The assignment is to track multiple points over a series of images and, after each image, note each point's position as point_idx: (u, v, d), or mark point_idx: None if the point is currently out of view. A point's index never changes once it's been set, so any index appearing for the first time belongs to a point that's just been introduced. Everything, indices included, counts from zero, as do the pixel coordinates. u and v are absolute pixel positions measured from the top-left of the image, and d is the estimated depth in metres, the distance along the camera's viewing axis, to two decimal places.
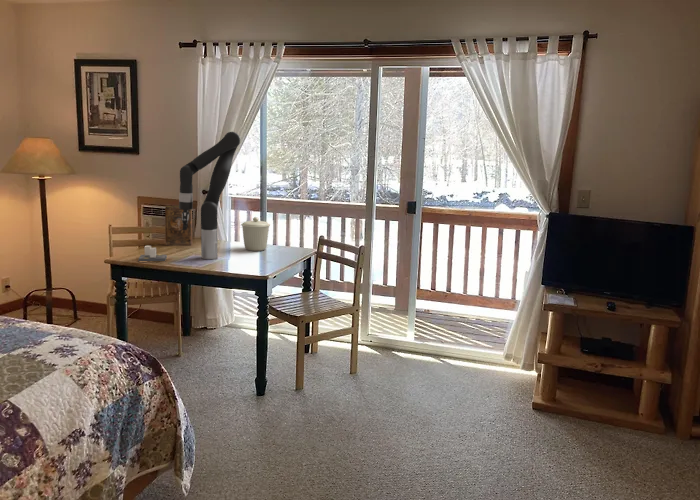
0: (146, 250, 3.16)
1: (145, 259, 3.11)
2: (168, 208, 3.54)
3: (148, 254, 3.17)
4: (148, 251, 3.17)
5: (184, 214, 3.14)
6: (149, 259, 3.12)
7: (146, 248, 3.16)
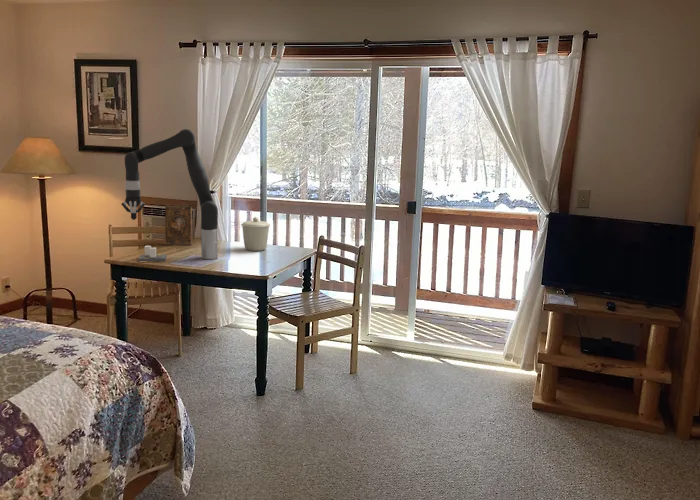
0: (146, 250, 3.16)
1: (145, 259, 3.11)
2: (168, 208, 3.54)
3: (148, 254, 3.17)
4: (148, 251, 3.17)
5: None
6: (149, 259, 3.12)
7: (146, 248, 3.16)
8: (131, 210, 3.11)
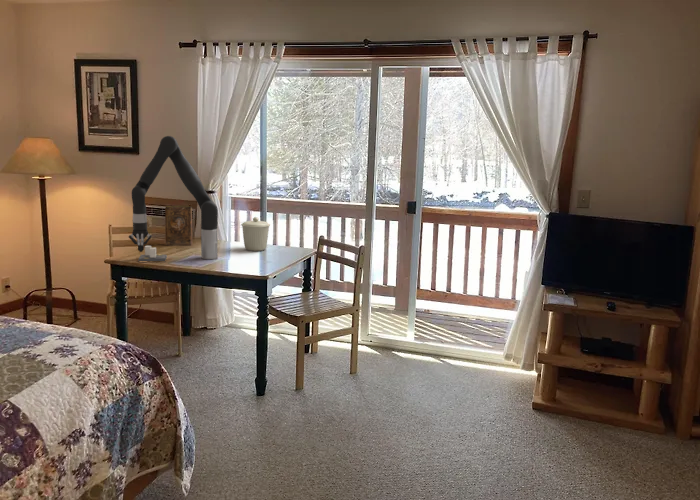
0: (146, 250, 3.16)
1: (145, 259, 3.11)
2: (168, 208, 3.54)
3: (148, 254, 3.17)
4: (148, 251, 3.17)
5: (150, 237, 3.17)
6: (149, 259, 3.12)
7: (146, 248, 3.16)
8: (138, 242, 3.15)
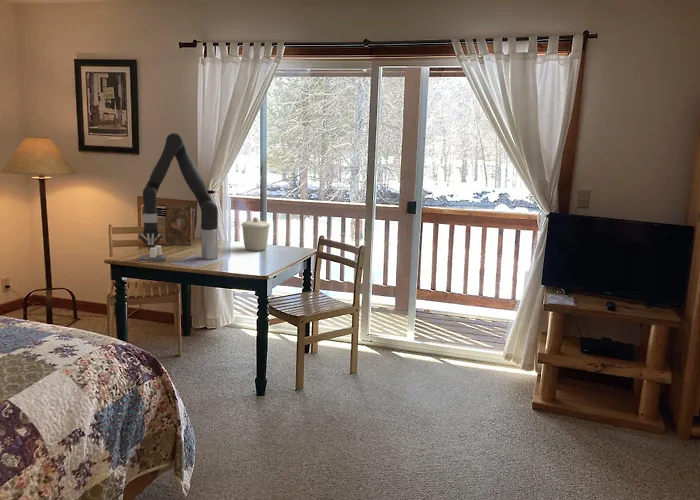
0: (157, 250, 3.17)
1: (145, 259, 3.11)
2: (168, 208, 3.54)
3: (159, 254, 3.18)
4: (159, 251, 3.18)
5: (161, 237, 3.18)
6: (149, 259, 3.12)
7: (157, 248, 3.17)
8: (149, 242, 3.16)
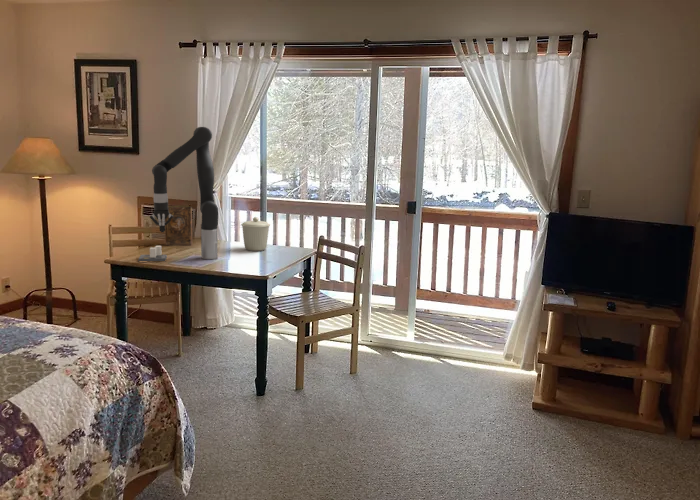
0: (157, 250, 3.17)
1: (145, 259, 3.11)
2: (168, 208, 3.54)
3: (159, 254, 3.18)
4: (159, 251, 3.18)
5: None
6: (149, 259, 3.12)
7: (157, 248, 3.17)
8: (160, 223, 3.12)
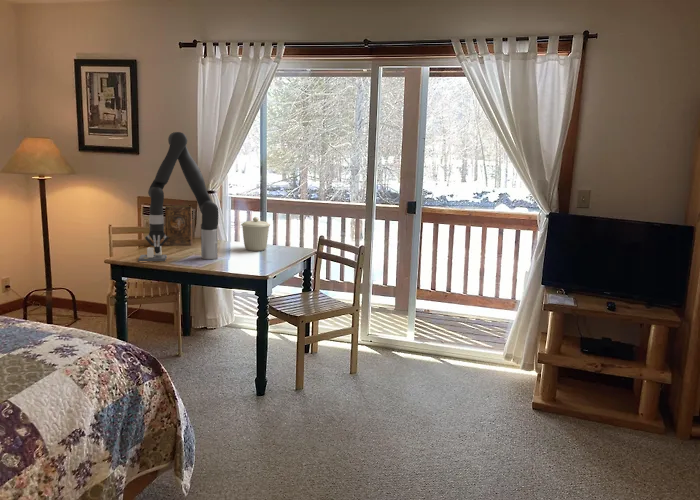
0: None
1: (145, 259, 3.11)
2: (168, 208, 3.54)
3: (159, 254, 3.18)
4: None
5: None
6: (149, 259, 3.12)
7: None
8: (155, 244, 3.12)
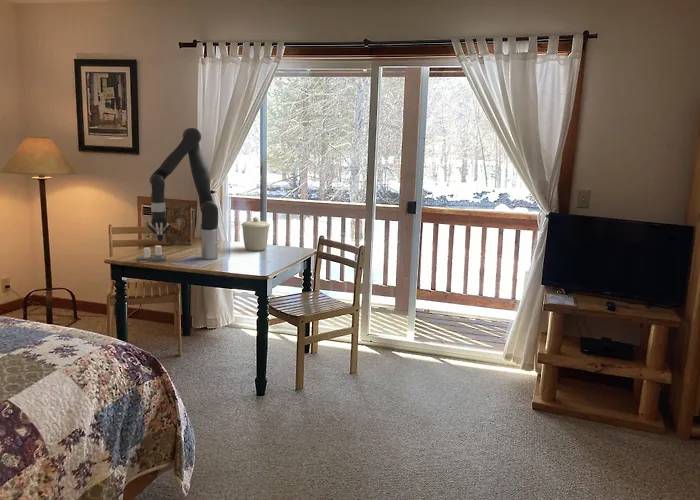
0: (157, 250, 3.17)
1: (145, 259, 3.11)
2: (168, 208, 3.54)
3: (159, 254, 3.18)
4: (159, 251, 3.18)
5: (170, 226, 3.14)
6: (149, 259, 3.12)
7: (157, 248, 3.17)
8: (157, 232, 3.12)
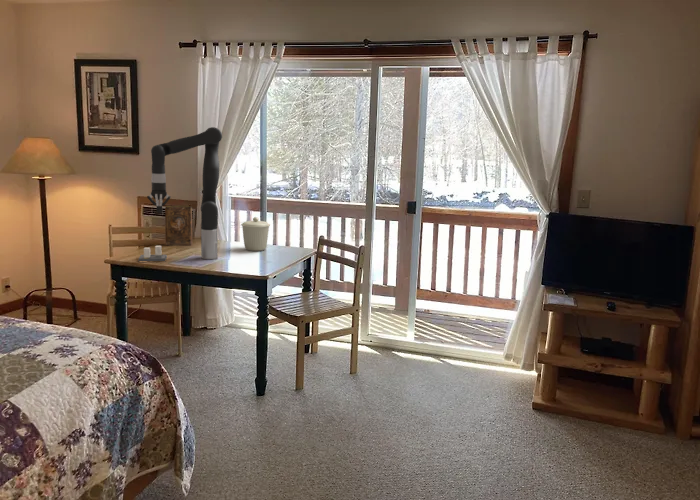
0: (157, 250, 3.17)
1: (145, 259, 3.11)
2: (168, 208, 3.54)
3: (159, 254, 3.18)
4: (159, 251, 3.18)
5: (169, 198, 3.13)
6: (149, 259, 3.12)
7: (157, 248, 3.17)
8: (157, 203, 3.11)
